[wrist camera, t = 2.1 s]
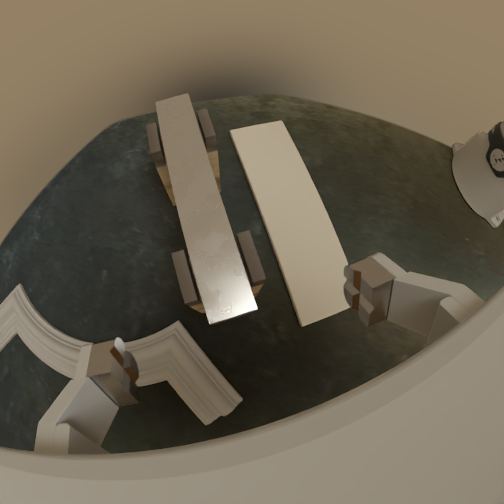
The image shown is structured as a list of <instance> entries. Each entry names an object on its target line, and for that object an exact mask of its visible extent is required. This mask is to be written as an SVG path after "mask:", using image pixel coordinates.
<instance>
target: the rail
mask: <svg viewBox="0 0 504 504" xmlns="http://www.w3.org/2000/svg"><path fill="white" fill-rule="evenodd" d="M156 109H157V115H158V120H159V126H160V131H161V137H162V142H163V147H164V152H165V157H166V161H167V166H168V171H169V175H170V180H171V184H172V189H173V193H174V197H175V202H176V206H177V210H178V214H179V218H180V222H181V226H182V230H183V234H184V238H185V242H186V245H187V249H188V253H189V257H190V260H191V264H192V267H193V271H194V274H195V278H196V281H197V285H198V288H199V292H200V295H201V298H202V302H203V305H204V308H205V311H206V315H207V318H208V321H209V324H211V325H215V324H219V323H222V322H225V321H228V320H232V319H235V318H238V317H241V316H244V315H247V314H251V313H254V312H255V311H256V310H257V309H258V308H257V305H256V302H255V299H254V296H253V293H252V290H251V287H250V284H249V281H248V278H247V275H246V272H245V269H244V266H243V263H242V260H241V257H240V254H239V251H238V248H237V245H236V242H235V239H234V236H233V233H232V230H231V227H230V224H229V221H228V217H227V214H226V211H225V208H224V205H223V202H222V199H221V196H220V193H219V190H218V187H217V183H216V180H215V177H214V174H213V171H212V168H211V165H210V161H209V158H208V155H207V152H206V149H205V146H204V142H203V139H202V136H201V133H200V130H199V126H198V123H197V120H196V117H195V114H194V110H193V107H192V104H191V101H190V97H189V94H188V93H187V94H183V95H180V96H176V97H172V98H169V99H165V100H162V101H158V102H156Z"/></svg>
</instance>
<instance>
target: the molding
mask: <svg viewBox="0 0 504 504" xmlns="http://www.w3.org/2000/svg"><path fill="white" fill-rule="evenodd" d="M17 333H18V335H19V336H20V338H21V339H22V340H23V342H24V343H25V344H26V345H27V346H28V348H29V349H30V350H31V351H32V352H33V353H34V354H35V355H36V356H37V357H39V358H40V359H41V360H42V361H43V362H45V363H46V364H47V365H49V366H50V367H51V368H53V369H54V370H56V371H58V372H60V373H61V374H63V375H65V376H67V377H70V378H72V379H74V377H75V372H76V367H77V363H78V358H79V354H80V350H81V347H82V346H83V345H85V344H90V342H86V341H82V340H79V339H76V338H73V337H71V336H69V335H67V334H65V333H63V332H61V331H59V330H58V329H56V328H55V327H54V326H52V325H51V324H50V323H49V322H48V321H46V320H45V319H44V318H43V317H42V316H41V315H40V313H39V312H38V311H37V310H36V309H35V307H34V306H33V304H32V303H31V301H30V300H29V298H28V296H27V294H26V292H25V290H24V288H23V286H22V284H20V283H19V285H18V286H17V287H16V288H15V289H14V290H13V291H12V292H11V293H10V294H9V296H8V297H7V298H6V299H5V300H4V301H3V302H2V304H1V305H0V351H1V350H2V349H3V348H4V347H5V346H6V345H7V343H8V342H9V341H10V340H11V339H12V338H13V337H14V336H15V335H16V334H17ZM124 344H125V350H126V351H128V352H130V353H131V354H132V355H133V356H134V358H135V360H136V362H137V366H138V370H139V378H138V379H137V381H136V382H135V384H136V385H137V386H138V387H139V386H146V385H150V384H155V383H158V382H162V381H165V380H167V381H168V382H169V383H170V385H171V386H172V387H173V388H174V390H175V391H176V392H177V393H178V395H179V396H180V397H181V398H182V399H183V401H184V402H185V403H186V404H187V405H188V406H189V408H190V409H191V410H192V411H193V412H194V413H195V414H196V416H197V417H198V418H199V419H200V420H201V421H202V422H203V423H204V424H205V425H207V424H210V423H212V422H213V421H214V420H216V419H217V418H218V417H219V416H226V415H228V414H229V413H231V412H232V411H233V410H234V408H235V407H236V406H237V405H238V404H239V403H240V402H241V401H242V400H243V398H242V397H241V396H240V395H239V394H238V393H237V391H236V390H235V389H234V388H233V387H232V386H231V385H230V383H229V382H228V381H227V380H226V379H225V378H224V376H223V375H222V374H221V373H220V372H219V370H218V369H217V368H216V367H215V366H214V364H213V363H212V362H211V361H210V359H209V358H208V357H207V356H206V354H205V353H204V352H203V351H202V349H201V348H200V347H199V346H198V344H197V343H196V342H195V341H194V339H193V338H192V337H191V335H190V334H189V333H188V331H187V330H186V329H185V327H184V326H183V325H182V323H181V322H180V321H179V320H178V321H177V322H175V323H174V324H172V325H170V326H169V327H167V328H165V329H163V330H161V331H159V332H157V333H155V334H153V335H150V336H148V337H145V338H142V339H139V340H135V341H131V342H126V343H124Z"/></svg>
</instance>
